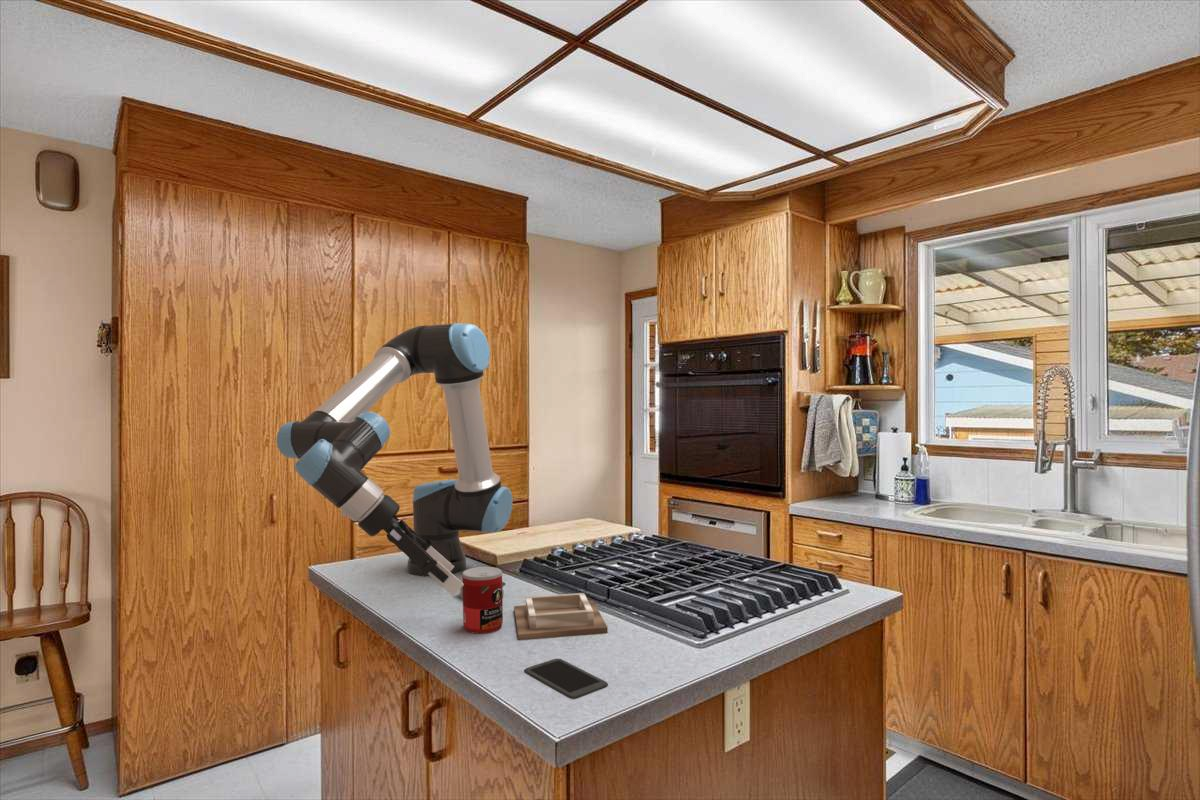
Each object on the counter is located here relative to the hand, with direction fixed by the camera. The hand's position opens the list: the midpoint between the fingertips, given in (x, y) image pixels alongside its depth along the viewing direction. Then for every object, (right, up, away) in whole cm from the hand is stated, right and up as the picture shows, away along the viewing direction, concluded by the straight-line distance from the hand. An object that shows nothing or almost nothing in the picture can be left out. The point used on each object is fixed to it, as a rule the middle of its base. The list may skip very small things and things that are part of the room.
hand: (453, 580), depth 130 cm
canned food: (+5, -10, +3) cm, 12 cm away
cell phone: (+23, -11, -21) cm, 33 cm away
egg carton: (+1, -10, +22) cm, 24 cm away
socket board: (+20, -10, +6) cm, 23 cm away
